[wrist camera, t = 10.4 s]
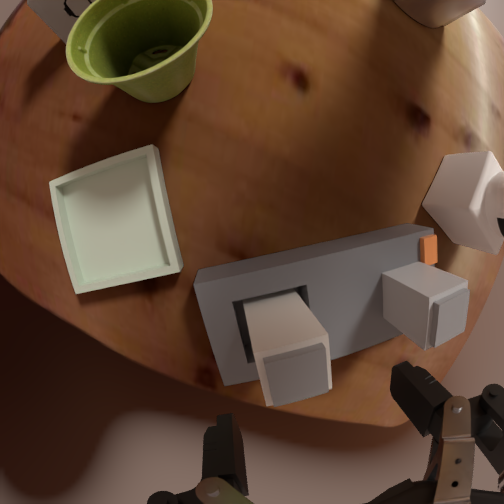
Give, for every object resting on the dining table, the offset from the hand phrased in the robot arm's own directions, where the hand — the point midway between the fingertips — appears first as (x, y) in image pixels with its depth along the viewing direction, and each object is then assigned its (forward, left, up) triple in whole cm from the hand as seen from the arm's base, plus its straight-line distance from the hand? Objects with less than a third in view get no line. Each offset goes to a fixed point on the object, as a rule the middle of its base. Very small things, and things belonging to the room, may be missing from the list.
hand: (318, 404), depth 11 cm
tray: (+11, -10, -13) cm, 20 cm away
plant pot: (+5, -22, -13) cm, 26 cm away
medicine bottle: (-22, -6, -13) cm, 26 cm away
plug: (0, 0, -12) cm, 12 cm away
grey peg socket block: (-5, 0, -13) cm, 14 cm away
